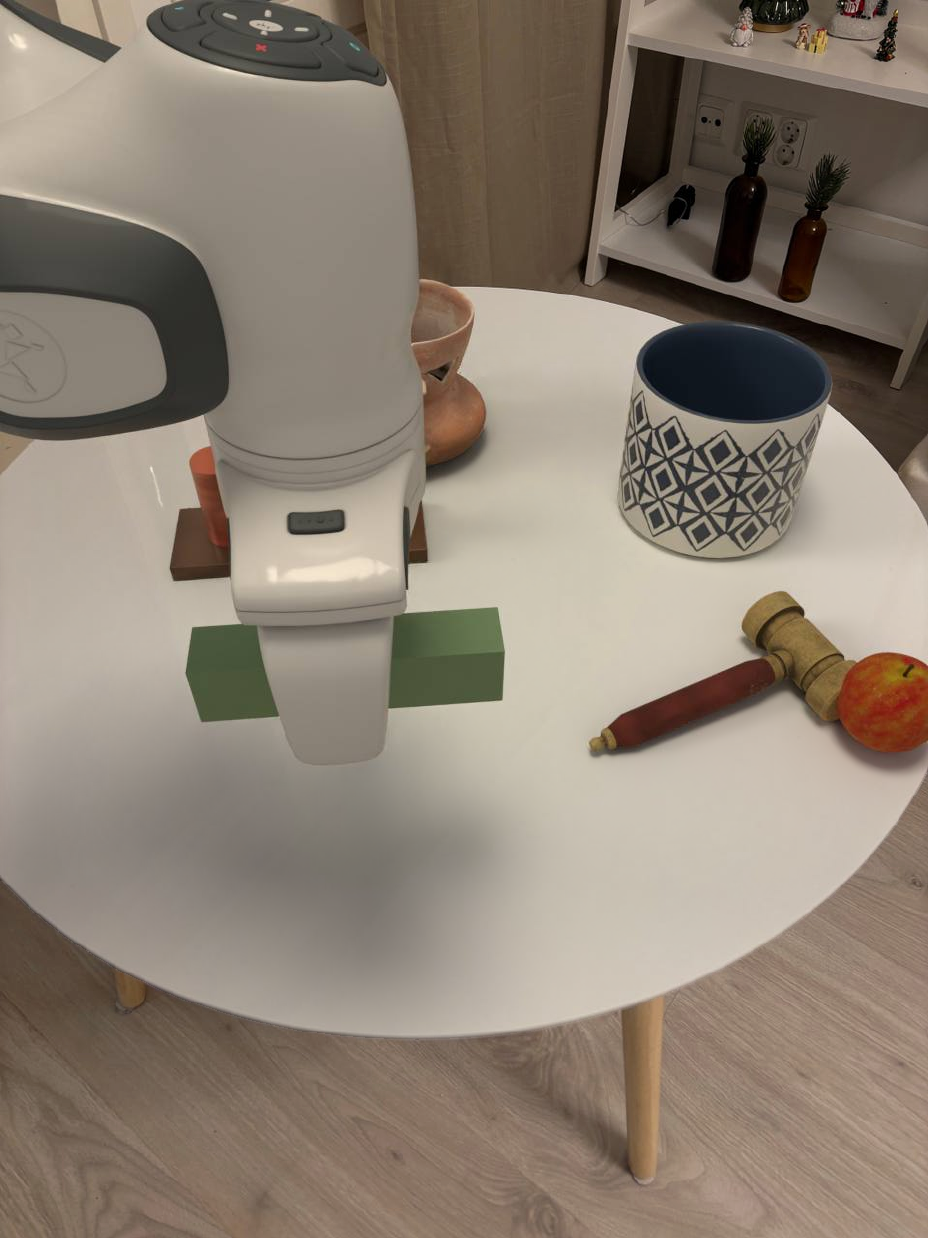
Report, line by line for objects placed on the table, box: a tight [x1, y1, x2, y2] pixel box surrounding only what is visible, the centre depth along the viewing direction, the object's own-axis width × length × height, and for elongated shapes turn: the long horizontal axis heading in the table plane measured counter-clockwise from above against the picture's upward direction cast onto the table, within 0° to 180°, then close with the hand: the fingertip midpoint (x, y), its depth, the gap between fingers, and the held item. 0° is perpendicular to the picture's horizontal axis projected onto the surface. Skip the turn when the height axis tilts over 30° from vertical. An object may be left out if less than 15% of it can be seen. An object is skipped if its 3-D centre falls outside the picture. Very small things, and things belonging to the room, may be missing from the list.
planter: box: [617, 320, 833, 559], centre depth 82 cm, size 16×16×14 cm
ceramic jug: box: [411, 278, 487, 467], centre depth 90 cm, size 18×14×14 cm
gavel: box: [588, 590, 858, 752], centre depth 69 cm, size 21×5×10 cm
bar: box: [184, 606, 506, 723], centre depth 49 cm, size 16×3×4 cm, turn 95°
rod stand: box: [169, 445, 429, 582], centre depth 81 cm, size 22×8×10 cm, turn 96°
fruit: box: [837, 651, 928, 754], centre depth 66 cm, size 7×7×8 cm
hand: (349, 668), depth 50 cm, fingers closed on bar, 3 cm apart
